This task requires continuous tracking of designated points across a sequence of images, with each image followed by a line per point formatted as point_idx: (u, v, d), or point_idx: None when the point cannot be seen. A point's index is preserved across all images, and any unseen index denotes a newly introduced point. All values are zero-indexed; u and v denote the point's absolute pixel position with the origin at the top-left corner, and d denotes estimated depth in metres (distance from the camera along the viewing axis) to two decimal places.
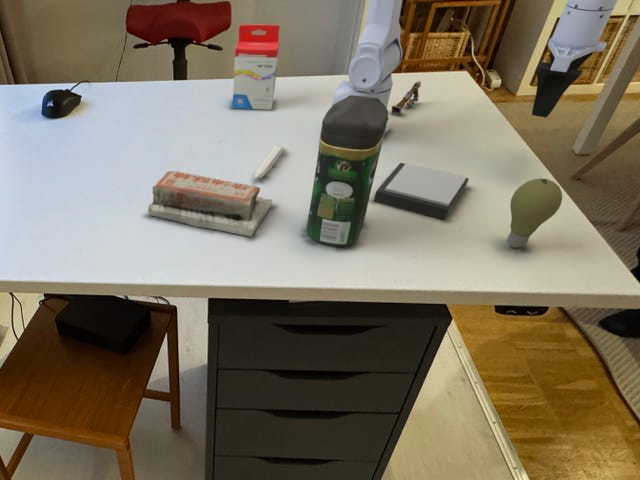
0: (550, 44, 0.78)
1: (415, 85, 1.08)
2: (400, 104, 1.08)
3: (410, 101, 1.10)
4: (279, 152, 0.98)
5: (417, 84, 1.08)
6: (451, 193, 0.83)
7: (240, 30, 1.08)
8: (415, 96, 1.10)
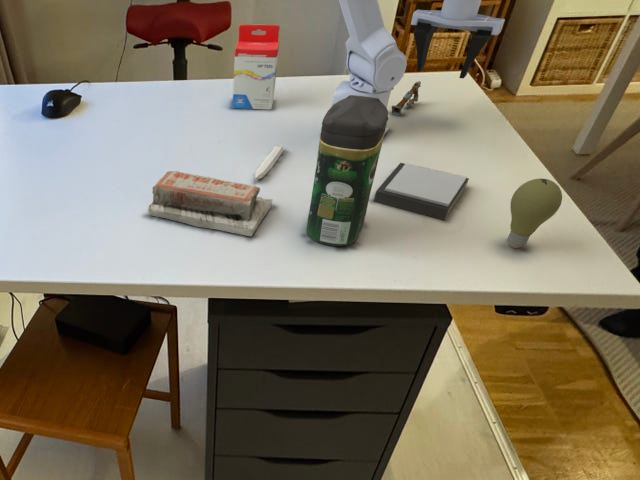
0: (464, 22, 0.91)
1: (415, 85, 1.08)
2: (400, 104, 1.08)
3: (410, 101, 1.10)
4: (279, 152, 0.98)
5: (417, 84, 1.08)
6: (451, 193, 0.83)
7: (240, 30, 1.08)
8: (415, 96, 1.10)
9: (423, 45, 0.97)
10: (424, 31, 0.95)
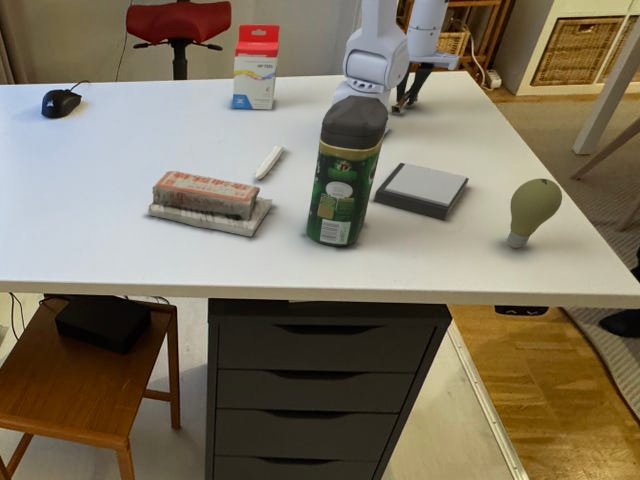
0: (423, 59, 1.01)
1: None
2: (399, 103, 1.08)
3: None
4: (279, 152, 0.98)
5: None
6: (451, 193, 0.83)
7: (240, 30, 1.08)
8: None
9: (402, 79, 1.05)
10: None
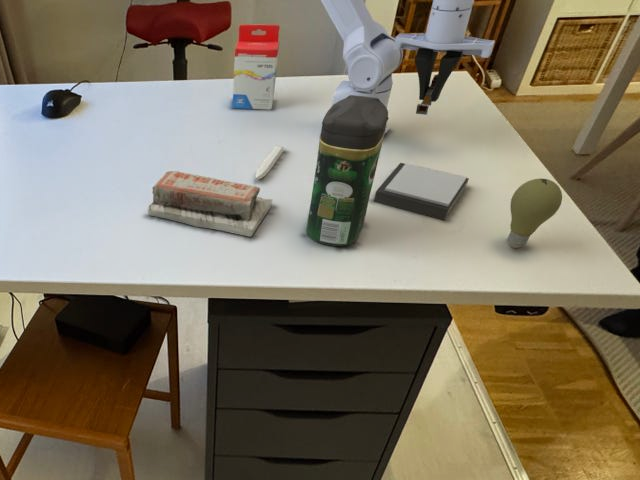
0: (451, 46, 0.84)
1: (435, 79, 0.92)
2: (425, 102, 0.91)
3: None
4: (279, 152, 0.98)
5: None
6: (451, 193, 0.83)
7: (240, 30, 1.08)
8: None
9: (425, 72, 0.89)
10: (426, 58, 0.87)
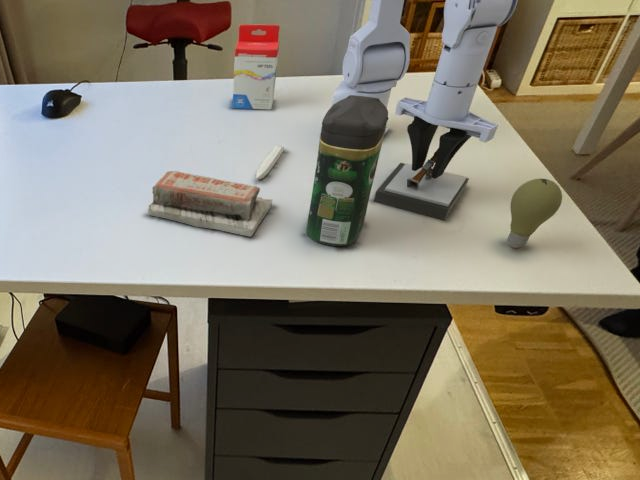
0: (447, 123, 0.76)
1: None
2: (418, 176, 0.83)
3: (431, 171, 0.86)
4: (279, 152, 0.98)
5: None
6: (451, 193, 0.83)
7: (240, 30, 1.08)
8: None
9: (418, 143, 0.82)
10: (418, 128, 0.80)
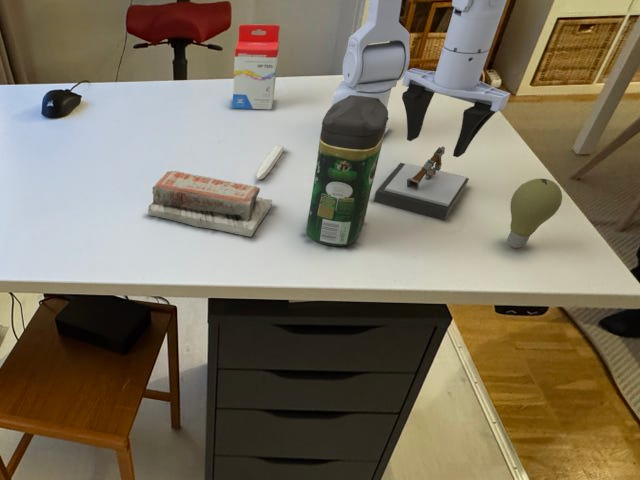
0: (457, 92, 0.73)
1: (438, 152, 0.84)
2: (418, 177, 0.83)
3: (431, 171, 0.86)
4: (279, 152, 0.98)
5: (440, 151, 0.83)
6: (451, 193, 0.83)
7: (240, 30, 1.08)
8: (437, 164, 0.86)
9: (413, 111, 0.80)
10: (414, 95, 0.78)
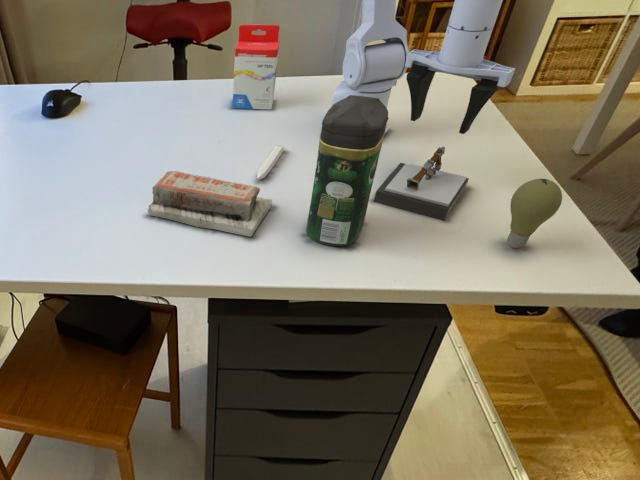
0: (464, 70, 0.75)
1: (438, 152, 0.84)
2: (418, 177, 0.83)
3: (431, 171, 0.86)
4: (280, 152, 0.98)
5: (440, 151, 0.83)
6: (451, 193, 0.83)
7: (240, 30, 1.08)
8: (437, 164, 0.86)
9: (417, 92, 0.81)
10: (418, 76, 0.80)
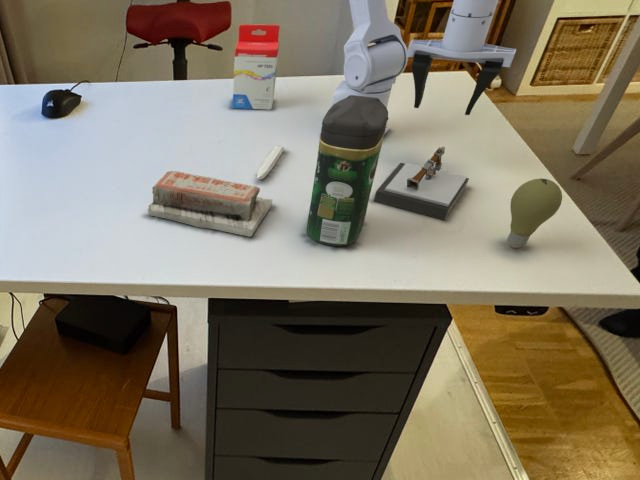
0: (472, 54, 0.79)
1: (438, 152, 0.84)
2: (418, 176, 0.83)
3: (431, 171, 0.86)
4: (280, 152, 0.98)
5: (440, 151, 0.83)
6: (451, 193, 0.83)
7: (240, 30, 1.08)
8: (437, 164, 0.86)
9: (422, 80, 0.84)
10: (424, 64, 0.83)
